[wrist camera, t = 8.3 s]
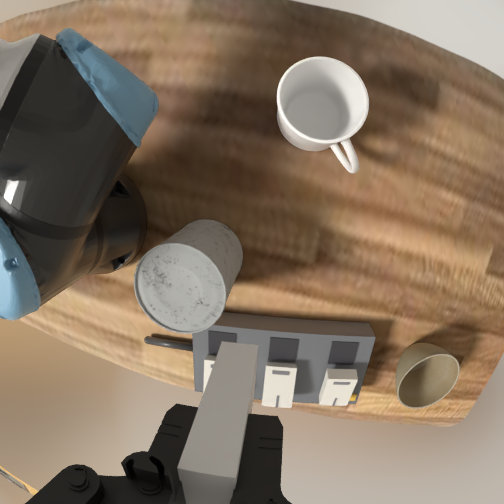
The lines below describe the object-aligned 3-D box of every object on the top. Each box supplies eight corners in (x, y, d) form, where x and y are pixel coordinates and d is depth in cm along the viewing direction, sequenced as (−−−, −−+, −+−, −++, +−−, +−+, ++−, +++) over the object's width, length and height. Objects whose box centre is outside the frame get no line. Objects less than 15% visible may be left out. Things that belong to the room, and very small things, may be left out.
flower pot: (373, 358, 44) (384, 387, 37) (424, 316, 41) (443, 340, 34) (404, 390, 45) (416, 418, 38) (451, 353, 43) (468, 377, 36)
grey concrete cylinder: (226, 208, 40) (202, 228, 28) (253, 276, 42) (241, 320, 30) (161, 234, 42) (118, 261, 30) (190, 297, 44) (159, 342, 32)
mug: (368, 160, 37) (401, 160, 25) (306, 186, 38) (316, 196, 27) (327, 75, 34) (344, 41, 23) (265, 100, 36) (257, 75, 24)
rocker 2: (262, 399, 41) (261, 405, 39) (266, 361, 41) (265, 366, 39) (290, 402, 41) (291, 408, 39) (296, 363, 41) (296, 368, 39)
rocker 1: (206, 392, 42) (203, 398, 40) (207, 354, 41) (204, 359, 40) (233, 395, 42) (232, 402, 40) (236, 358, 41) (234, 363, 39)
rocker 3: (318, 395, 42) (319, 405, 40) (327, 368, 39) (327, 379, 37) (345, 395, 41) (346, 405, 40) (356, 369, 39) (357, 380, 37)
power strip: (150, 366, 48) (141, 381, 44) (143, 301, 45) (131, 314, 41) (351, 387, 46) (356, 405, 42) (369, 322, 42) (376, 337, 38)
